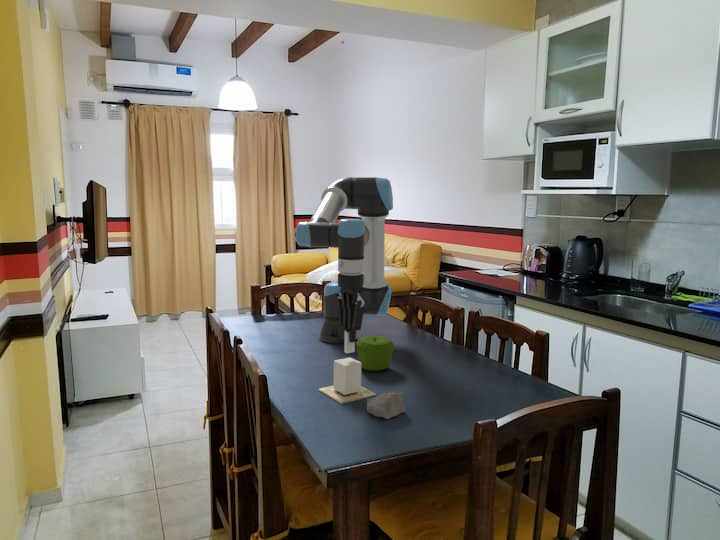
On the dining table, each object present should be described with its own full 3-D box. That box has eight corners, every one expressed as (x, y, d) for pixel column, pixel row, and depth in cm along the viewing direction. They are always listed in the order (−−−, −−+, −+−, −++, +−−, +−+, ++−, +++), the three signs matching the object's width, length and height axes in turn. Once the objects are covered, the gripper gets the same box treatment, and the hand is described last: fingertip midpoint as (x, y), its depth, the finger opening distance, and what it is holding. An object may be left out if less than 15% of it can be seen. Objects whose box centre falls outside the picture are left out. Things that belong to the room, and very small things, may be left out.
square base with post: (351, 382, 164) (352, 354, 163) (375, 395, 155) (376, 365, 154) (318, 390, 157) (319, 361, 156) (341, 404, 148) (342, 373, 147)
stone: (362, 412, 143) (362, 391, 142) (391, 405, 149) (392, 385, 148) (379, 423, 136) (380, 401, 136) (409, 415, 142) (410, 394, 141)
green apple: (366, 377, 170) (367, 342, 168) (349, 365, 181) (349, 333, 179) (399, 371, 176) (400, 338, 174) (381, 361, 186) (382, 329, 185)
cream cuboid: (349, 384, 160) (350, 357, 159) (360, 390, 155) (361, 362, 154) (333, 388, 157) (333, 360, 155) (344, 394, 152) (344, 366, 151)
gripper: (327, 270, 155) (326, 348, 159) (353, 277, 145) (351, 360, 149) (348, 268, 160) (347, 344, 164) (374, 275, 149) (373, 355, 153)
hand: (349, 351), depth 156 cm, fingers closed
